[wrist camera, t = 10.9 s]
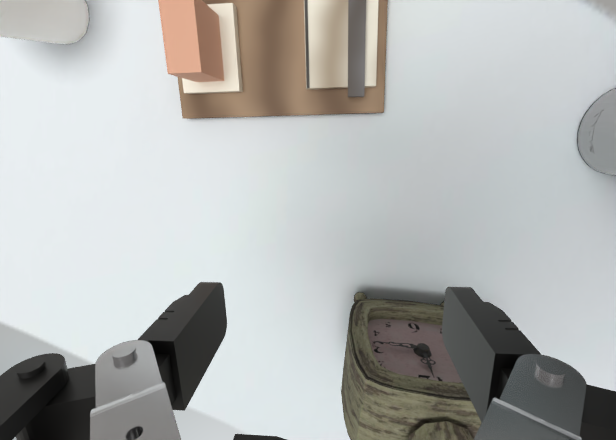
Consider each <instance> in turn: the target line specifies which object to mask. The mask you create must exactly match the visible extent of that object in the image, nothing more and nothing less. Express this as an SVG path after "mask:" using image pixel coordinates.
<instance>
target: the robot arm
mask: <svg viewBox="0 0 616 440" xmlns="http://www.w3.org/2000/svg"><path fill="white" fill-rule="evenodd" d="M578 147H579V151H580V153H581V156H582V158H583V159H584V161H585V162H586V163H587V164H588V165H589V166H590V167H592V168H593V169H594V170H597V171H599V172H601V173H605V174H610V175H615V176H616V88H615V89H613V90H610V91H609V92H607V93H606V94H604V95H603V96H601V97H600V98H599V99H598V100H597V101H596V102H595V103H594V104H593V105H592V106H591V107H590V108H589V110H588V111H587V112H586V114H585V116H584V118H583V120H582V122H581V125H580V128H579V131H578ZM226 328H227V318H226V308H225V299H224V289H223V285H222V283H218V282H200V283H199V284H198V285H197V286H196V287H195V288H194V290H193V291H192V292H191V293H190V294H189V295H184V296H183V297H181V298H179V299H178V300H176V301H174V302H173V303H172V304H171V305H170V306H169V307H168V308H167V309H166V310H165V312H163V313H162V314H161V315H160V316H159V318H158V319H157V320H156V321H155V322H154V323H153V324H152V325H151V326H150V327H149V328H148V329H147V330H146V331H145V332H144V334H143V335H142V336H141V337H140V338H139V339H138V340H132V341H127V342H123V343H120V344H118V345H115V346H113V347H111V348H110V349H108V350H107V351H105V352H104V353H103V354H101V356H100V357H99V358H98V359H97V361H96V364H92V365H86V366H81V367H75V368H70V369H67V366H66V362H65V358H64V357H63V356H62V355H60V354H53V353H52V354H44V355H39V356H35V357H32V358H30V359H27V360H25V361H22V362H20V363H18V364H16V365H15V366H13V367H11V368H10V369H9V370H7V371H6V372H5V373H3V374H2V375H1V376H0V440H12V439H13V438H14V437H15V436H16V438H17V440H181V438H180V434H179V430H178V427H177V424H176V420H175V417H174V413H173V410H185V409H186V407H187V405H188V403H189V401H190V400H191V398H192V396H193V394H194V392H195V390H196V388H197V387H198V385H199V383H200V381H201V379H202V377H203V376H204V374H205V372H206V370H207V368H208V366H209V364H210V363H211V361H212V359H213V357H214V355H215V353H216V352H217V350H218V348H219V346H220V344H221V342H222V340H223V339H224V336H225V333H226ZM442 337H443V342H444V345H445V347H446V350H447V352H448V354H449V356H450V358H451V360H452V362H453V364H454V366H455V368H456V370H457V372H458V375H459V377H460V379H461V381H462V383H463V385H464V387H465V389H466V391H467V393H468V395H469V398H470V400H471V402H472V404H473V406H474V408H475V410H476V412H477V414H478V416H479V418H480V421H481V425H480V427H479V429H478V432H477V434H476V436H475V438H474V440H616V392H615V391H611V390H607V389H603V388H598V387H594V386H591V385H587V384H586V381H585V379H584V378H583V376H582V375H581V374H580V373H579V372H578V371H577V370H575V369H574V368H573V367H571V366H570V365H568V364H566V363H564V362H562V361H560V360H558V359H555V358H552V357H549V356H545V355H541V354H540V352H539V351H538V350H537V349H536V348H535V347H534V346H533V345H532V343H531V342H530V341H529V340H528V339H527V338H526V337H525V335H524V334H523V333H522V332H521V331H519V330H518V328H517V326H516V325H515V324H514V323H513V322H511V320H510V318H509V317H508V316H507V315H506V314H505V313H504V312H503V311H502V310H501V309H499V308H498V307H496V306H494V305H493V304H491V303H489V302H483V301H482V300H481V299H480V297H479V296H478V295H477V294H476V293H475V291H474V290H473V289H472V288H470V287H448V288H447V289H446V292H445V300H444V311H443V321H442ZM233 440H286V439H283V438H280V437H277V436H260V435H244V434H235V436H234V439H233Z"/></svg>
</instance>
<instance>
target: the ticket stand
mask: <svg viewBox="0 0 616 440" xmlns="http://www.w3.org/2000/svg"><path fill="white" fill-rule="evenodd" d="M202 1H203V2H205V3H206V4H221V3H233V4H234V5H235V6H236V10H237V23H238V37H239V50H240V63H241V77H242V90H243V92H228V93H201V94H186V93H184V91H183V83H182V78H181V77H178V84H179V92H180V100H181V108H182V116H183V118H187V119H190V118H224V117H257V116H290V115H324V114H357V113H383V112H384V89H385V60H386V31H387V2H388V0H202Z"/></svg>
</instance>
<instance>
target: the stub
mask: <svg viewBox="0 0 616 440" xmlns="http://www.w3.org/2000/svg"><path fill="white" fill-rule="evenodd" d="M158 1H159V9H160V16H161V24H162V32H163V40H164V47H165V55H166V63H167V70H168V74H171V75H174V76H178V77H181V78H182V83H183V91H184V93H186V94H201V93H228V92H243V90H242V77H241V63H240V50H239V37H238V23H237V10H236V6H235V5H234V4H233V3H221V4H206V3H205V2H203V1H202V0H158Z"/></svg>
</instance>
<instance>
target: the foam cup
mask: <svg viewBox="0 0 616 440" xmlns="http://www.w3.org/2000/svg"><path fill="white" fill-rule="evenodd" d="M88 24H89V13H88V6H87V3H86V2H85V0H0V37H6V38H15V39H23V40H31V41H40V42H48V43H57V44H71V43H75V42H78V41H79V40H80V39H81V38H82V37H83V36H84V35H85V33H86V31H87V27H88Z"/></svg>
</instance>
